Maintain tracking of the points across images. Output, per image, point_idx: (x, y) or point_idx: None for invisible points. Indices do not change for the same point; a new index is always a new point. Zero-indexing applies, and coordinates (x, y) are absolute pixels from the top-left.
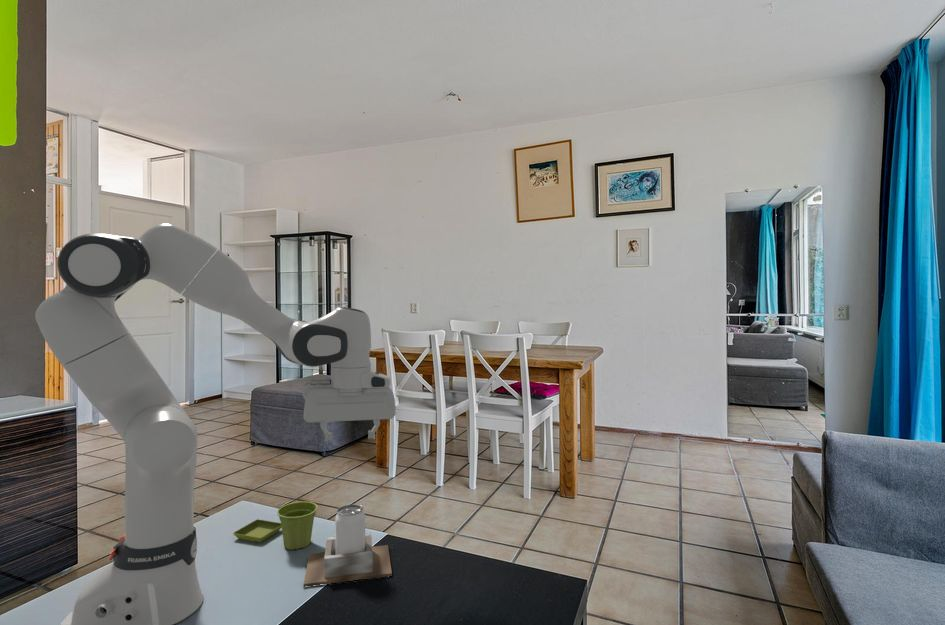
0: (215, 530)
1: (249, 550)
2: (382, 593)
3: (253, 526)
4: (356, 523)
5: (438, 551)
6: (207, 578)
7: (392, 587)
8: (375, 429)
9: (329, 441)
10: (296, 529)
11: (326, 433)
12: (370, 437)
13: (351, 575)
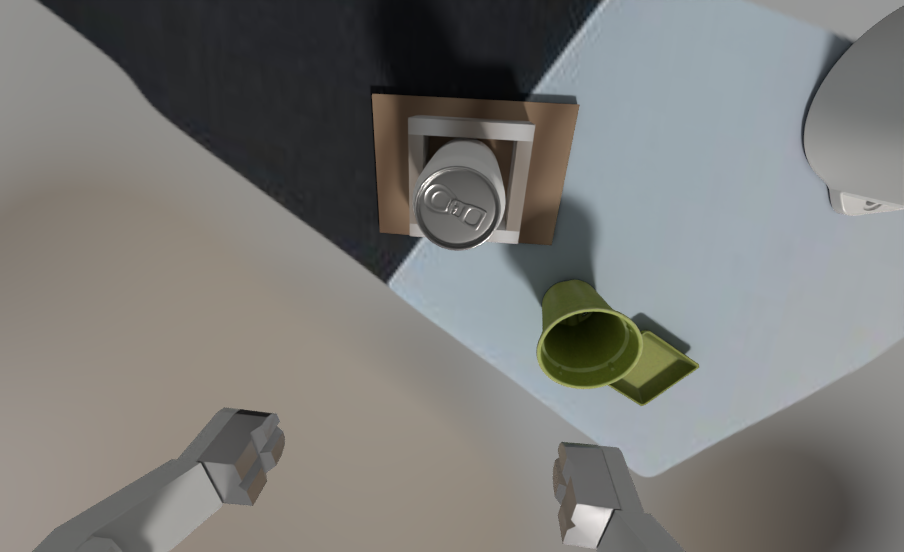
0: (717, 400)
1: (667, 305)
2: (397, 13)
3: (649, 388)
4: (440, 157)
5: (269, 181)
6: (773, 214)
7: (372, 37)
8: (154, 478)
9: (580, 444)
10: (586, 298)
11: (635, 518)
12: (248, 418)
13: (466, 113)
